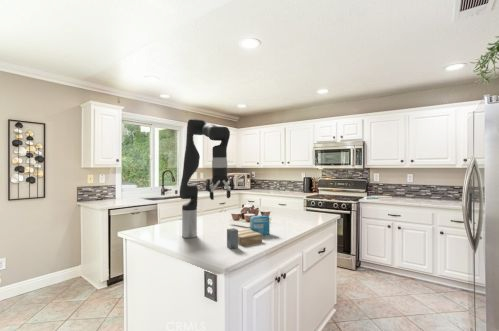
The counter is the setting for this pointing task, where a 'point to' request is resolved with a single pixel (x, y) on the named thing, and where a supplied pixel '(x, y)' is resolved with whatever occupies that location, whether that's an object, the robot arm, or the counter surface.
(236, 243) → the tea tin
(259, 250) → the counter surface
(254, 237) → the oak block
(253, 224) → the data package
